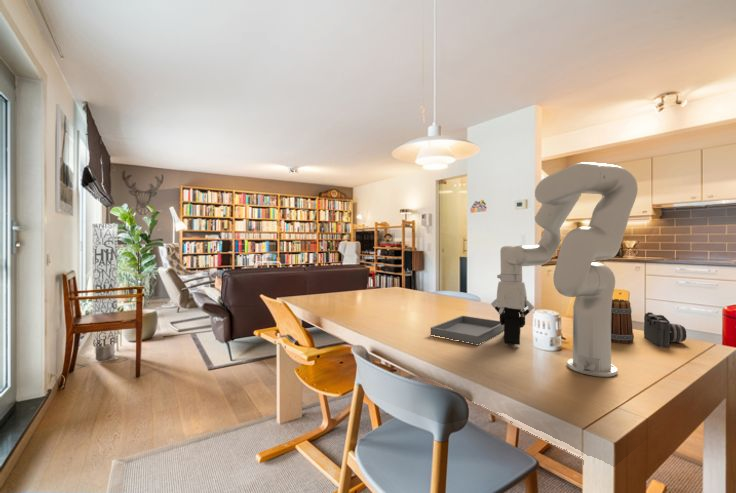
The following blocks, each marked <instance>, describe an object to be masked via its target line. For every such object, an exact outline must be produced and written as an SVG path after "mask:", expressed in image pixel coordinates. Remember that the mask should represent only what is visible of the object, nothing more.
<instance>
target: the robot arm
mask: <svg viewBox="0 0 736 493" xmlns="http://www.w3.org/2000/svg"><path fill="white" fill-rule="evenodd" d="M638 190H639V189H638V182H637V180H636V178H635V176H634V175H633V174H632V173H631V171H629V170H627V169H626V168H624V167H622V166H619V165H614V164H610V163H609V164H607V163H597V162H590V161H588V162H585V161H584V162H579V163H575V164H572V165H570V166H568V167H565V168H563V169H561V170H559V171H556V172H555V173H552V174H550V175H548V176H546V177H544V178H543V179H542V180H540V181H539V182H538V184H537V185H536V187H535V189H534V197H535V201H537V203H540V204H541V206H540V208H539V209H538V211H537V213H536V214H535V216H534V221H535V223H536V224H537V225H538V226H539V227H541V228H542V229H543V235H541V236H542V237H541V238H540V240H539V242H538V243H537V244H528V245H527V244H526V245H525V244H524V245H523V244H522V245H520V244H519V245H504V246H502V247H500V251H499V252H500V274H497V277H496V278H497V279H499V280H500V281H498V283H497V289H496V291H497V292H496V298H495V299H494V300H493V301H492V302H491V303H490V304H491V306H492V307H493V308H494V310H495V311H496V312H497V313H498V315H499V321H500V322H501V325H504V307H507V308H510V309H516V310H519V316H520V317H519V324H520V328H523V327H525V326H526V316H527V315H528V314H529V313H530V312H532V311H533V310H534V309H535V306H534V305H533V304H532V303H531V302H530V301H529V300H528V296H527V290H526V284H525V282H524V281H523V267H532V266H533V267H534V266H543V265H546V264H547V263H548V262H549V261H550V260H551V259H552V258H553V257H554V255H555V254H556V252H557V250H559V253H558V256H557V260H556V263H555V269H554V271H553V272H554V273H553V285H554V288H555V289H556V291H557V292H558V293H559V294H561V295H562V296H564V297H569V298H574V297H575V299H574V301H573V307H572V358H569V359H567V361H566V365H567V367H568V368H569V369H570V370H572V371H574V372H577V373H580V374H584V375H588V376H593V377H600V378H601V377H603V378H605V377H606V378H607V377H608V378H609V377H610V378H611V377H614V376H616V375H618V374H619V370H618V368H617V367H616V366H615V365H614V364H612V342H611V306H612V299H613V296H614V292H615V286H616V277H615V274H614V272H613V271H612V270H611V268H610V267H608V266H607V265H606V264H603V263H600V262H594V261H604V260H605V261H606V260H610V259H613V258H615V256H617V254H618V253H619V250H620V249H621V245H622V242H623V238H624V237H625V232H626V229H627V226H628V222H629V218H630V215H631V211H632V210H633V207H634V205H635V202H636V199H637V195H638ZM582 194H588V195H601V196H602V197H601V199H600V200H599V201H598V202H597V204H596V205H595V207H594V209H593V211H592V214H591V218H590V221H589V224H588V226H580V227H575V228H573V229H571V230H570V231H569V232H567V233H566V235H565V236H564V237H563V239H562V242H561V237H562V236H561V235H562V234H561V227H562V226H563V224H564V223H565V221H566V220H567V218H568V216H569V215H570V213H571V212H572V210H573V209H574V207H575V205H576V204H577V202H578V201H579V200H580V198H581V196H582ZM560 244H561V245H560ZM559 247H560V248H559ZM525 308H527V309H525Z"/></svg>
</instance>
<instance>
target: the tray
mask: <svg viewBox="0 0 736 493" xmlns="http://www.w3.org/2000/svg"><path fill="white" fill-rule="evenodd" d="M503 331H504V325H501V322H500V320H494V319H486V318H480V317H474V316H468V315H460V316H458V317H455V318H452V319H450V320H446V321H445V322H442V323H439V324H436V325H433V326H432V327H430V336H431V335H435V336H440V337H445V338H449V339H453V340H459V341H464V342H469V343H473V344H480V343H482V342H484V341H486V340H488V339H490V338H491V339H493V338H495V337H496V335H497V336H499V335H500V334H502V333H504V332H503ZM501 332H502V333H501ZM494 336H495V337H494ZM492 337H493V338H492ZM491 339H490V340H491ZM488 341H489V340H488ZM486 342H487V341H486ZM484 343H485V342H484Z"/></svg>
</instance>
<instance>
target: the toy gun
mask: <svg viewBox="0 0 736 493" xmlns="http://www.w3.org/2000/svg"><path fill="white" fill-rule="evenodd" d="M519 317H520V313H519V310H516V309H510V308H507V307H504V332H503V340H504V341H503V342H504V344H506V345H517V346H518V345H521V341H520V340H521V328H520V324H519Z"/></svg>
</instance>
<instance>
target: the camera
mask: <svg viewBox="0 0 736 493" xmlns="http://www.w3.org/2000/svg"><path fill="white" fill-rule="evenodd" d="M643 318H644V322H643V336H644V338H646V340H648V341H649V342H651V343H652V344H654V345H656V347H661V348H670V343H682V342H685V341H686V340H687V331H686V330H687V329H686V328H685V326H684V325H681V324H678V323H672V322H670V321H669V320H668V319H667V317H666V316H664V315H662V314H655V313H653V312H651V311H648V312H645V314H644V317H643Z"/></svg>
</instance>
